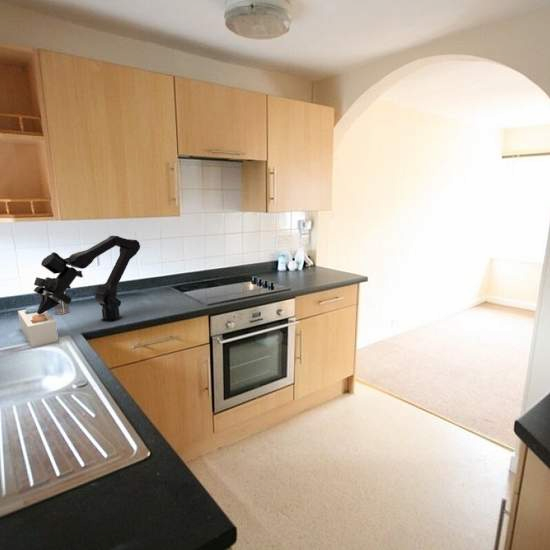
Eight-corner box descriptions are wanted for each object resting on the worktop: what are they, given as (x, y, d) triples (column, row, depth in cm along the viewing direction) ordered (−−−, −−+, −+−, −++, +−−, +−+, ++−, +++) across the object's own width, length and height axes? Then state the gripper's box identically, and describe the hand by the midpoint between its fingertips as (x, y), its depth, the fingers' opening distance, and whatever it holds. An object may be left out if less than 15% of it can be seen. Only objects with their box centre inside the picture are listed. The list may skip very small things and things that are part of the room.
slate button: (41, 311, 156) (40, 306, 155) (32, 315, 152) (32, 309, 151) (32, 311, 157) (32, 305, 156) (24, 314, 153) (23, 309, 152)
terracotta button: (49, 320, 145) (48, 314, 144) (39, 324, 141) (38, 318, 140) (39, 319, 146) (38, 314, 145) (30, 323, 142) (29, 317, 141)
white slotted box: (20, 329, 157) (17, 310, 155) (45, 324, 163) (42, 306, 161) (31, 347, 138) (27, 326, 136) (58, 340, 144) (55, 321, 142)
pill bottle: (66, 310, 183) (63, 290, 181) (71, 312, 179) (68, 292, 177) (53, 313, 178) (50, 293, 176) (58, 315, 175) (55, 294, 173)
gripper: (35, 266, 148) (8, 299, 142) (59, 271, 138) (31, 307, 132) (58, 281, 156) (34, 313, 150) (82, 287, 146) (57, 321, 140)
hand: (38, 313), depth 142 cm, fingers closed
